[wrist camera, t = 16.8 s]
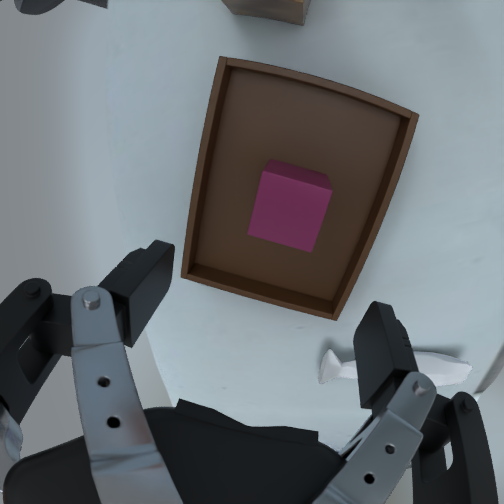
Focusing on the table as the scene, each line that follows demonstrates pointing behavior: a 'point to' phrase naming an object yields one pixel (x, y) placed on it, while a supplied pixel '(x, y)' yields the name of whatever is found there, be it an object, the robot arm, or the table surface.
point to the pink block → (290, 205)
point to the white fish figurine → (428, 363)
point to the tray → (299, 154)
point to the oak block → (271, 9)
